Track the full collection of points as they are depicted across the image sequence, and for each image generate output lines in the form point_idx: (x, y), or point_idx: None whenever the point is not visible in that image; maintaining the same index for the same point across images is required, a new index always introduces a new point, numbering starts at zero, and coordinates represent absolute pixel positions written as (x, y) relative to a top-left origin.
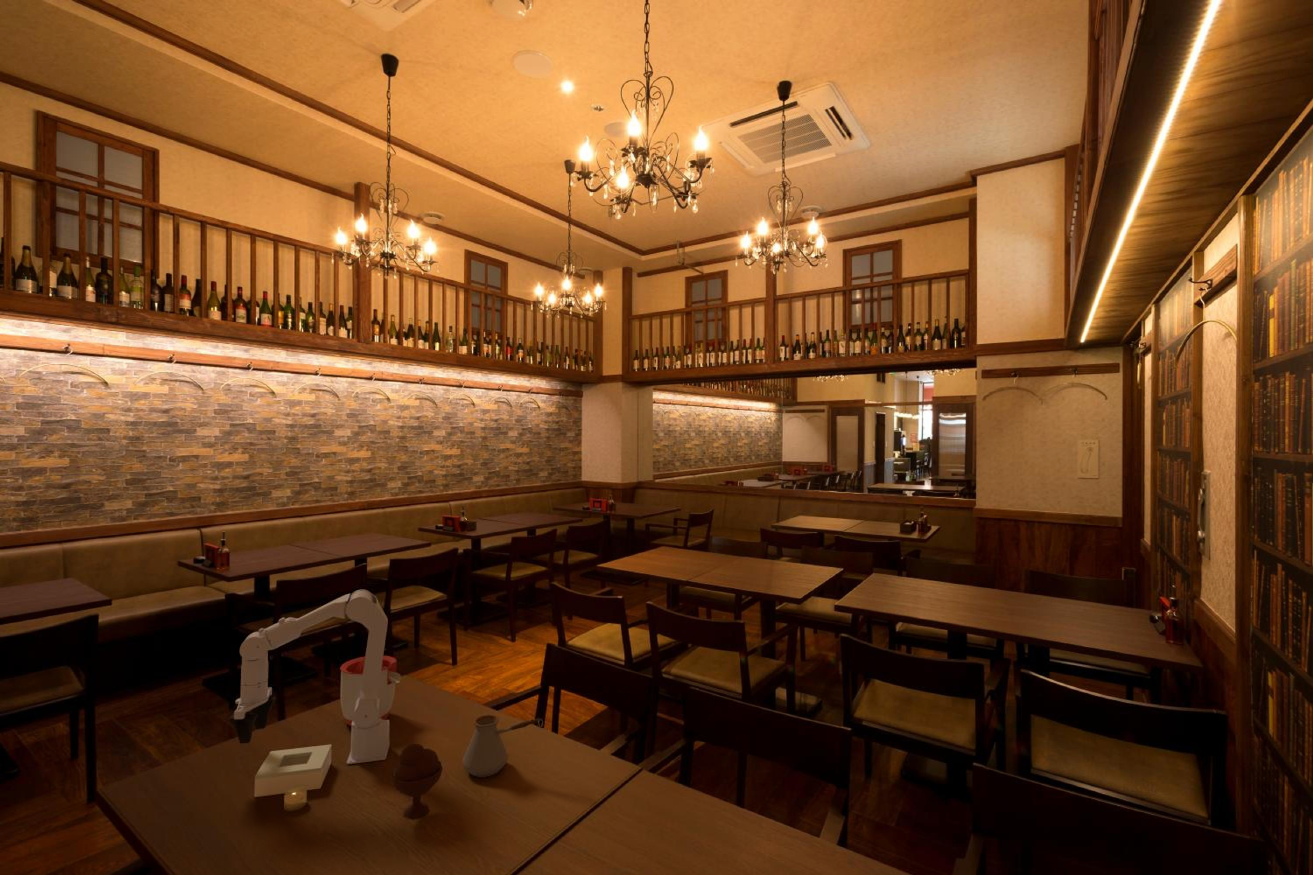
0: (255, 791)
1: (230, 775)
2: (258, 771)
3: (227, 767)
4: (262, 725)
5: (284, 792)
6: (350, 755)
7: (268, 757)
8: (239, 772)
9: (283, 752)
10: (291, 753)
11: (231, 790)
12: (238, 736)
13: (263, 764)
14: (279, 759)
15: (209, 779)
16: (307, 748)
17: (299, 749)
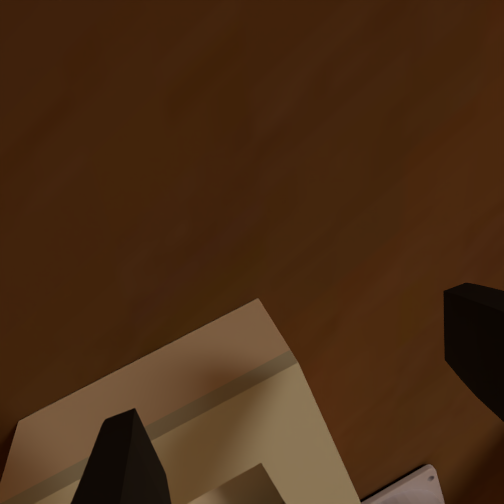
0: (15, 445)
1: (181, 117)
2: (46, 498)
3: (267, 11)
4: (470, 364)
5: None
6: (382, 499)
7: (221, 412)
8: (222, 147)
9: (290, 436)
10: (283, 478)
11: (33, 264)
12: (75, 500)
13: None
14: (209, 480)
15: (104, 3)
16: (340, 498)
17: (328, 476)
